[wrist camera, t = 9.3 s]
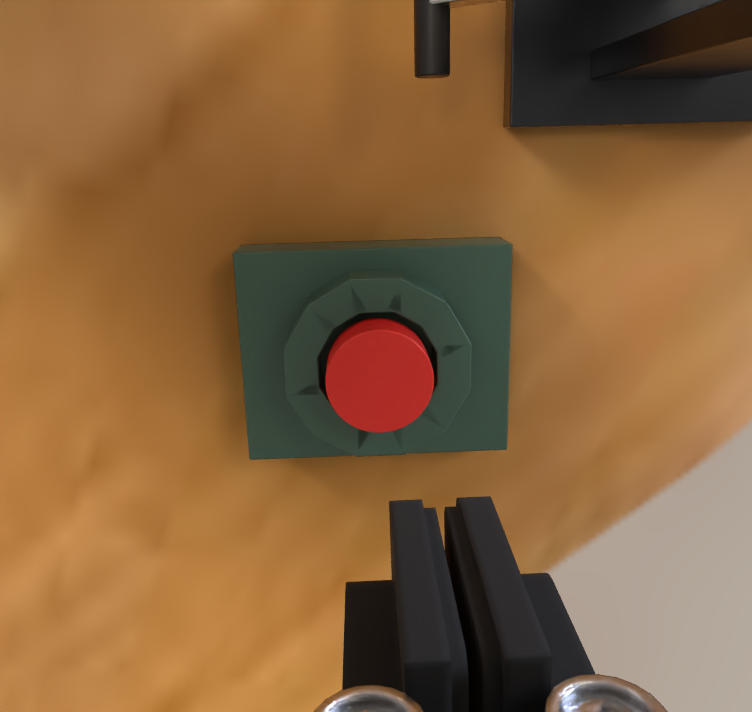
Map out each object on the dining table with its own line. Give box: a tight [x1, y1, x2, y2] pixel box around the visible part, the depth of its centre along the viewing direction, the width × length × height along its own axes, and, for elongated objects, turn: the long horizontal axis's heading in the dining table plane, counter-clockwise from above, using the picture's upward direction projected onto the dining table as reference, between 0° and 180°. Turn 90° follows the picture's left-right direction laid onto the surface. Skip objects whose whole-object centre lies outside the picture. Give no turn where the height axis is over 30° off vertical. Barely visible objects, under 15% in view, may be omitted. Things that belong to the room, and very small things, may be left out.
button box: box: [233, 237, 513, 460], centre depth 27 cm, size 10×8×4 cm
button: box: [325, 318, 434, 433], centre depth 25 cm, size 4×4×2 cm
